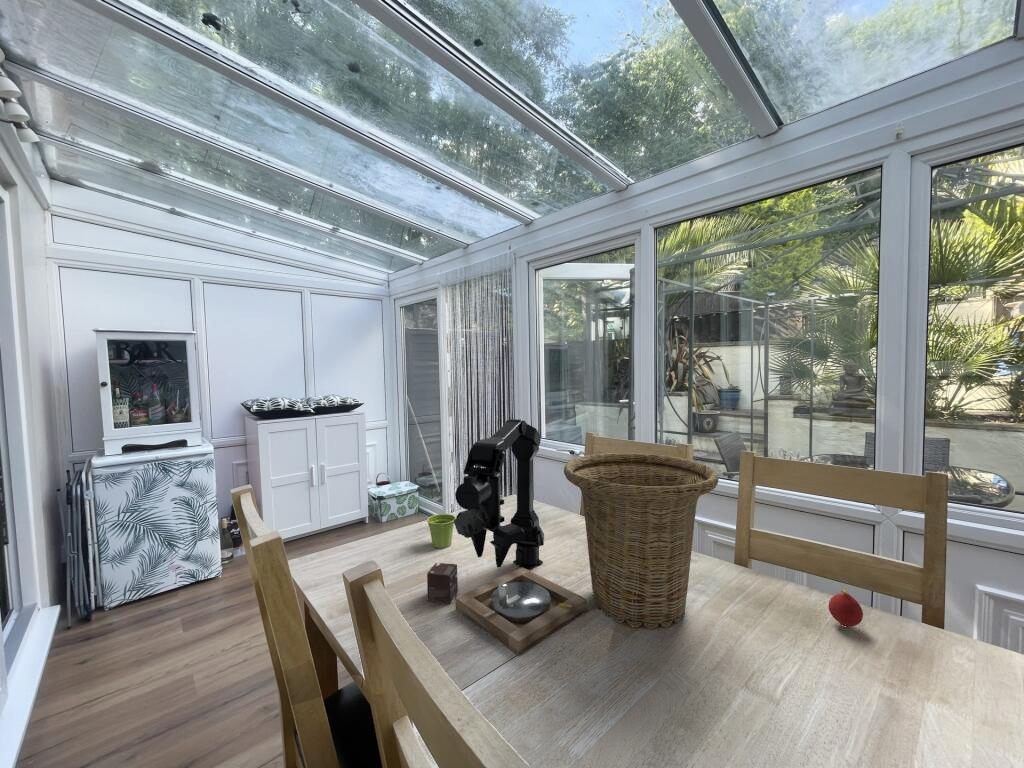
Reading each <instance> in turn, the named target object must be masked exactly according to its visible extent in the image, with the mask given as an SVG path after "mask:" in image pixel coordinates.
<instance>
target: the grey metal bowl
mask: <svg viewBox="0 0 1024 768" xmlns="http://www.w3.org/2000/svg"><path fill="white" fill-rule="evenodd" d="M550 608H551V597H550V594H549V592H548V591H547V590H546V589H545V588H543V587H541V586H539V585H537V584H533V583H528V582H514V583H509V584H507V583H504V582H502V583H499V584H498V588H497V589H496V590H495V591H494V592H493V594H492V596H491V609H492V611H495V613H497V614H498V615H500V616H501V617H503V618H505V619H506V620H508V621H509V622H511V623H518V624H524V623H529V622H531V621H532V620H534V619H536V618H538V617H539V616H541V615H543V614H544V613H546V612H548V611H549V610H550Z"/></svg>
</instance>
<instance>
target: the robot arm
mask: <svg viewBox="0 0 1024 768" xmlns="http://www.w3.org/2000/svg"><path fill="white" fill-rule="evenodd" d="M541 437H542V435H541V434H540V432H539V430H538V429H537V428H535V426H532V425H530V424H528V423H527V422H526V420H523V419H516V418H515V419H514V418H510V419H506V421H505V423H504V424H503V425H502V427H500V428H499V429H498V430H497V431H496V432H495V433H494V434H492V435H491V437H489V438H483V439H479V440H477V441H475V442H474V443H473V444H472V446H471V448H470V449H469V453H468V455H467V456H468V457H467V459H466V463H465V466H464V469H463V474H464V475H465V476H464V477H463V478H462V479H463V480H462V481H463V482H462V483H461V484H460V483H459V485H458V486H457V488H456V491H455V492H454V494H455V495H454V496H455V500H456V503H457V504H458V506H459V507H460V508H462V509H464V510H463V511H460V512H458V514H457V515H456V516H455V517H456V519H455V520H454V526H455V527H454V528H456V531H457V534H458V535H461V536H463V537H464V538H466V539H469V538H471V541H472V544H473V547H474V551H475V553H476V556H477V558H481V557H483V554H484V550H485V544H486V543H485V542H486V537H487V531H490V532H492V539H493V540H490V541H489V542H490V544H491V545H492V546H493V547H494V555H495V563H496V564H495V566H496V568H497V569H498V568H501V567H502V566H503V565H504V561H505V560H506V557H507V555H508V553H509V551H510V549H511V547H512V546H513V545H514V544H515V545H516V549H515V560H513V561H512V563H513V564H515V565H516V566H518V567H519V568H522V567H523V568H525V569H527V570H529V571H531V570H532V569H534V568H536V567H538V566H541V565H543V563H544V561H543V560H541V559H540V547H542V546H544V544H545V543H544V540H545V533H544V532H543V529H542V528H541V526H540V518H539V515H537V513H536V512H535V510H534V509H535V508H534V458H535V457H536V456H537V454H538V452H539V451H540V445H541V440H542V439H541ZM509 448H510V449H511V450H510V451H511V452H512V454H513V456H514V457H515V459H516V511H515V513H514V515H513V516H512V517H511V519H510V522H509V523H507V524H504V525H501V523H503V522H505V516H502V515H501V513H502V512H501V510H502V508H501V506H503V505H505V499H503V498H501V474H502V473H503V466H504V463H505V460H506V456H507V454H506V452H507V450H508V449H509Z"/></svg>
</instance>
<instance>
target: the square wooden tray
mask: <svg viewBox="0 0 1024 768" xmlns="http://www.w3.org/2000/svg"><path fill="white" fill-rule="evenodd" d="M502 582H504V583H507V584H509V583H514V582H528V583H533V584H537V585H539V586H541V587H543V588H545V589H546V590H547V591H548V592H549V594H550V597H551V608H550V610H549V611H548V612H546V613H544V614H543V615H541V616H539V617H538V618H536V619H534V620H532V621H531V622H529V623H524V624H518V623H511V622H509V621H508V620H506V619H505V618H503V617H501V616H500V615H498V614H497V613H495V611H492V609H491V596H492V594H493V592H494V591H495V590H496V589H497V588H498V584H499V583H502ZM454 599H455V600H454V601H455V604H454V605H455V611H456V612H458V613H459V614H460V615H462V616H463V617H465V618H466V619H467V620H469V621H470V622H471V623H473V624H474V625H475V626H477V627H478V628H480V629H481V630H482V631H484V632H485V633H486V634H488V635H489V636H490V637H492V638H493V639H495V640H496V641H497V642H498V643H500V644H501V645H503V646H504V647H506V648H507V649H508V650H510V651H511V652H512V653H514V654H515V655H517V656H518V657H520V656H521V655H523V654H525V653H526V652H528V651H529V650H531V649H533V648H534V647H535V646H537V645H538V644H541V643H542V642H543V641H544V640H546V639H548V638H549V637H551V636H553V635H554V634H556V633H557V632H559V631H560V630H562V629H564V628H565V627H566V626H567V625H569V624H571V623H573V622H574V621H575V620H577V619H579V618H580V617H582V616H583V615H585V614H587V612H588V598H587V597H586V598H585V597H584V596H582V595H579V594H578V593H576V592H573V591H571V590H570V589H567V588H566V587H563V586H561V585H559V584H557V583H556V582H554V581H552V580H549V579H547V578H545V577H543V576H541V575H540V574H537V573H535V572H534V571H533V572H532V571H531V570H527V569H525V568H523V567H519V568H517V569H515V570H514V571H511V572H509V573H506V574H504V575H502V576H500V577H498V578H496V579H493V580H491V581H489V582H486V583H484V584H482V585H480V586H477V587H475V588H474V589H471V590H468V591H467V592H465V593H462V594H461V595H458V596H455V597H454Z"/></svg>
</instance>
